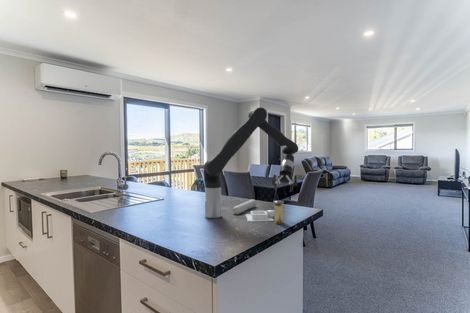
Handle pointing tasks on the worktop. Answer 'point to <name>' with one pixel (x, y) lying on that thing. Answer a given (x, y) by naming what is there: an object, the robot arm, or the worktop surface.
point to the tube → (244, 206)
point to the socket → (260, 216)
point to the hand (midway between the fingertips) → (282, 190)
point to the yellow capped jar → (278, 211)
